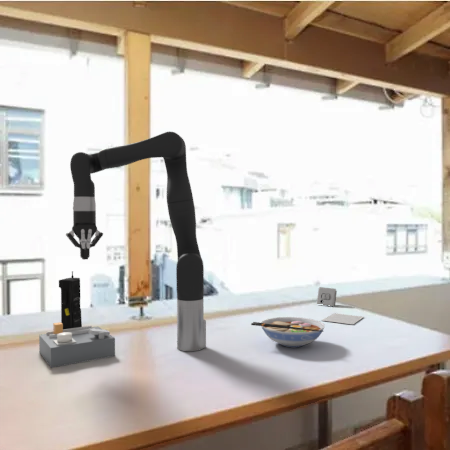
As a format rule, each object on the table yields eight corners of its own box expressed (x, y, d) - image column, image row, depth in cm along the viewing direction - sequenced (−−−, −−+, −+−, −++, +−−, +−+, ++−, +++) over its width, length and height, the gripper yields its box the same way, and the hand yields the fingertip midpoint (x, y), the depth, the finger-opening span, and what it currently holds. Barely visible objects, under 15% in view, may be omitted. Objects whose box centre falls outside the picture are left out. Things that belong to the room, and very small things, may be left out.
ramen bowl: (333, 340, 160) (333, 318, 160) (319, 358, 140) (320, 333, 140) (269, 333, 171) (269, 312, 171) (247, 349, 150) (247, 325, 150)
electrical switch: (316, 305, 225) (317, 287, 226) (320, 304, 229) (321, 286, 230) (333, 307, 219) (334, 288, 220) (337, 306, 224) (338, 288, 224)
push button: (70, 337, 141) (69, 331, 141) (73, 340, 137) (73, 334, 137) (55, 339, 139) (55, 333, 139) (59, 343, 135) (58, 336, 135)
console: (98, 342, 158) (98, 320, 158) (115, 355, 143) (114, 331, 143) (39, 352, 147) (39, 328, 147) (50, 367, 132) (50, 341, 132)
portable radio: (72, 342, 159) (71, 274, 159) (57, 341, 160) (56, 273, 160) (83, 336, 167) (82, 271, 166) (69, 335, 168) (68, 271, 168)
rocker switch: (105, 333, 147) (106, 329, 147) (109, 335, 144) (109, 332, 144) (88, 332, 144) (88, 328, 144) (91, 334, 141) (92, 330, 141)
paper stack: (385, 320, 191) (385, 319, 191) (370, 333, 171) (370, 332, 171) (334, 314, 204) (334, 313, 204) (314, 325, 183) (314, 324, 183)
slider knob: (60, 332, 149) (60, 322, 148) (62, 334, 146) (62, 323, 146) (53, 333, 147) (53, 323, 147) (55, 335, 145) (55, 324, 145)
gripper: (67, 209, 146) (68, 261, 146) (106, 210, 153) (106, 259, 154) (62, 210, 152) (62, 259, 153) (99, 210, 160) (100, 257, 160)
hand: (85, 259), depth 153 cm, fingers closed
